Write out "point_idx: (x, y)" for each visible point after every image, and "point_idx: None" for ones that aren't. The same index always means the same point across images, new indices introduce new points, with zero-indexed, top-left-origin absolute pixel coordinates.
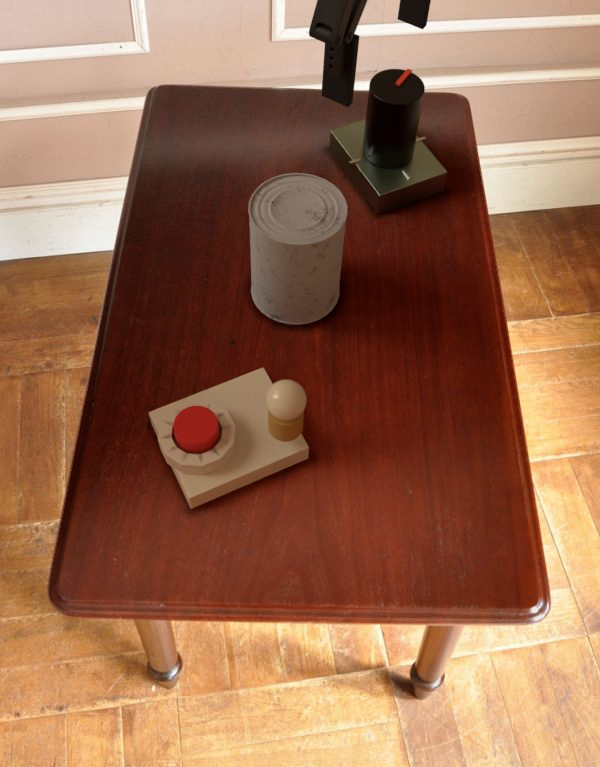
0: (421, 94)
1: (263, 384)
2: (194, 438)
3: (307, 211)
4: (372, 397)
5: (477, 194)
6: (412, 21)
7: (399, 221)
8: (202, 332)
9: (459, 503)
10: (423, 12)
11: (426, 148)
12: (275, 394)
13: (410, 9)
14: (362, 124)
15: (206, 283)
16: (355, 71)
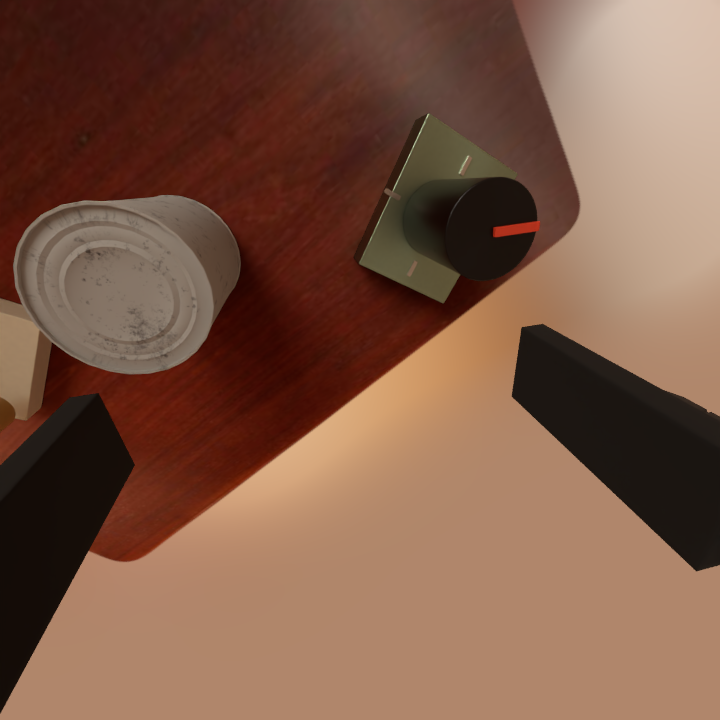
0: (491, 277)
1: (25, 340)
2: None
3: (134, 310)
4: (150, 404)
5: (448, 325)
6: (521, 374)
7: (361, 285)
8: (22, 205)
9: (138, 502)
10: (542, 418)
11: None
12: None
13: (544, 380)
14: (466, 151)
15: (80, 145)
16: (82, 559)
